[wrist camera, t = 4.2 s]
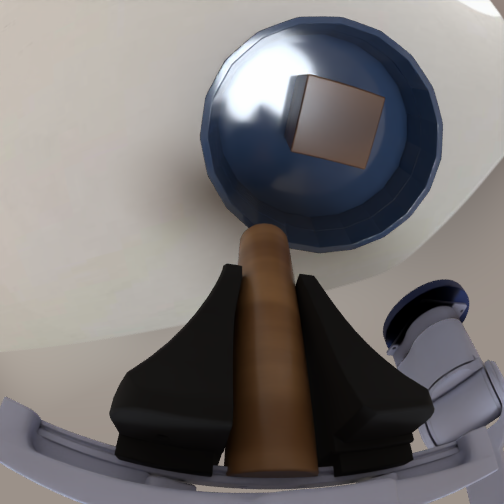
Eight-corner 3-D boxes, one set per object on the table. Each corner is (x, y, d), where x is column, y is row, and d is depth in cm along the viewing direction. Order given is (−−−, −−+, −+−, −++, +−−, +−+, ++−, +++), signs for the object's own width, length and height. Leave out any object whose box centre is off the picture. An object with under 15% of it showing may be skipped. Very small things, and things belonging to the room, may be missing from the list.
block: (345, 151, 17) (365, 170, 14) (283, 136, 17) (290, 152, 14) (360, 92, 15) (386, 97, 12) (297, 74, 15) (307, 73, 11)
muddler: (282, 266, 16) (301, 486, 7) (236, 259, 15) (219, 485, 6) (293, 226, 14) (334, 468, 5) (243, 219, 14) (228, 468, 5)
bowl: (375, 231, 21) (396, 266, 17) (203, 200, 20) (189, 232, 16) (426, 69, 14) (464, 73, 10) (232, 13, 13) (225, -6, 9)
